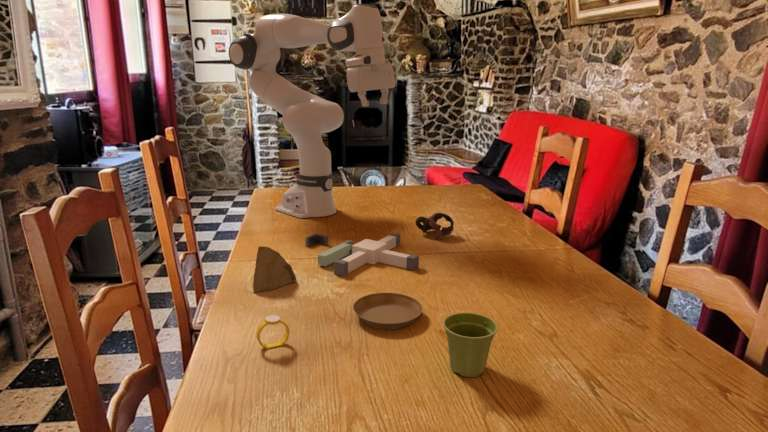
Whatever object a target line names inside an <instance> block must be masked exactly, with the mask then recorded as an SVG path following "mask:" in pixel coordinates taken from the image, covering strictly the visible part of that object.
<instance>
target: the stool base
mask: <svg viewBox="0 0 768 432" xmlns="http://www.w3.org/2000/svg"><path fill="white" fill-rule="evenodd" d="M401 236H402V235H401V233H400V232H394V231H391V232H389V233H388V234H387V236H385V237H383V238H381V239H379V240H374V239H368V238H365V239H362V240H360V241H359V242H357V243H353V245H352V249H351V254H349V255H347V256H345V257H343V258H341V259H338V260H336V261H334V262H333V274H334V275H337V276H342V277H346V276H347V275H348V274H349V273H351V272H353V271H354V270H356V269H358V268H359V267H362V266H363V265H365V264H368V265H369V264H370V265H375V264H376V263H381V264H385V265H390V266H394V267H398V268H402V269H405V270H409V271H413V272H414V271H415V270H417V269H419V267H420V265H419V264H420V261H419V260H420V255H419V254H415V253H411V254H406V253H401V252H398V251H393V250H392V249H394V248H395V247H398V246H401Z"/></svg>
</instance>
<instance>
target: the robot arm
mask: <svg viewBox="0 0 768 432" xmlns="http://www.w3.org/2000/svg"><path fill="white" fill-rule="evenodd" d="M322 44H324V45H326V44H328V45H329V46H330V47H331V49H333V50H334V51H337V52H355V54H353V55H352V56H351V57H349V58H347V59H346V60H345V66H346V68H347V69H346V80H347V87H348V91H350V93H356V92H357V96H358V98H359V100H360V102H361V103H360V104H361V107H363V108H364V107H365V108H366V107H369V106H370V103H369V102H370V101H369V100H367V99H368V98H367V96H366V95H367V92H368V91H378V90H380V93H381V97H380V98H379V103H380V105H386V104H388V95H389V92H390V91H389V89H395V87H396V84H397V83H396V77H395V71H394V68H393V66H392V63H391V61H390V60H389V59H388V58H386V56H385V47H384V44H383V25H382V18H381V12H380V10H379V8H378V6H376V5H374V4H368V3H356V4H353V6H352V7H351V9H349V11H348V12H347V13H346V14H344V15H343V16H341V17H340V18H337V19H336V20H333V21H331V22H330V23H324V22H320V21H317V20H313V19H309V18H305V17H304V16H303V17H302V16H300V15H296V14H291V13H270V14H265V15H262V16H260V17H259V18H258V19H257V20H256V22H255V26H254V32H253V33H252V34H250V33H249V32H245V33H244V34H243V35H241V36H240V37H237V38H235V39H233V40H232V42H231V43H230V45H229V47H228V57H229V60H230V63H231V64H232V65H233V66H234V67H236V68H238V69H240V70H245V71H246V70H251V74H250V76H249V80H248V84H249V88H250V89H251V91H252V92H253V94H255V95H256V96H257V97H258V98H259V100H261V101H262V102H264V103H265V104H266V105H267V106H269V107H271V108H272V109H273V110H274V111H276V112H278V113H279V114H280V115H282V119H281V120H282V125H283V127H284V130H285V132H287V133H288V134H289V135H290V136H291V137H292V138H293V140H294V142H295V144H296V147H297V151H298V152H297V153H298V162H299V163H298V165H299V172H298V174H295V175H293V176H294V177H293V179H296V181H295V183H294V184H293V185H292V186H290V187H289V188H288V189H287V190H286V191H285V192H283V195H282V199H281V204H279V205H277V206H275V211H278V212H279V213H283V214H286V215H290V216H293V217H296V218H300V219H304V218H305V219H306V218H321V217H322V218H323V217H328V216H332V215H335V214H336V213H337V208H336V206H335V202H334V201H335V200H334V195H333V183H334V180H333V179H334V178H333V172H332V153H331V152H332V151H331V150H330V149H329V148H328V147H327V146H326V145H325V143H324V142H323V137H322V134H324V133H325V134H326V133H331V132H333V131H335V130H337V129H339V128H340V127H341V126H342V125H343V123H344V119H345V114H344V110H343V108H342V107H341V106H340V105H339V103H336V102H333V101H331V100H327V99H324V98H322V97H321V96H318V95H316V94H313V93H311V92H309V91H307V90H304V89H302V88H300V87H298V86H297V85H295V84H294V83H292V82H291V81H289V80H288V79H286V78H285V77H283V76H281V75H280V74H279V72H281V70H282V68H283V65H284V62H285V59H286V50H285V49H298V48H304V47H309V46H316V45H322Z"/></svg>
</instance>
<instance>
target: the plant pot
mask: <svg viewBox="0 0 768 432" xmlns="http://www.w3.org/2000/svg"><path fill="white" fill-rule="evenodd" d="M442 327H443V328H444V332H445V335H446V338H447V339H446V340H447V346H448V348H447V349H448V356H449V358H448V359H449V367H450V370H451V372H453V373H456V374H459V375H460V376H462V377H467V378H476V377H479V376H480V375H481V374H482V373H484V372H485V370H486V366H487V362H488V357H489V353H490V348H491V344H492V341H493V339H494V337H495V335H496V334H497V332H498V331H499V330H498V329H499V326H498V323H496V321H495V320H494V319H492V318H490V317H489V316H488V315H487V316H486V315H484V314H481V313H477V312H456V313H451V314H449V315H447V316H445V318H444V319H443V321H442Z"/></svg>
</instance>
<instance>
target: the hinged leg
mask: <svg viewBox="0 0 768 432" xmlns="http://www.w3.org/2000/svg"><path fill="white" fill-rule="evenodd" d="M352 245H354V240H351V239H346V240H344V242H342V243H340V244H338V245H335V246H333V247H331V248H330V249H326V250H325V251H323V252H320V253H319V254H317V264H318V266H322V267H327V266H329V265H331V264H334V261H336V260H338V259H340V260H342V259H344V258H346V257H348V256H350V255H351V249H352Z"/></svg>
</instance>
